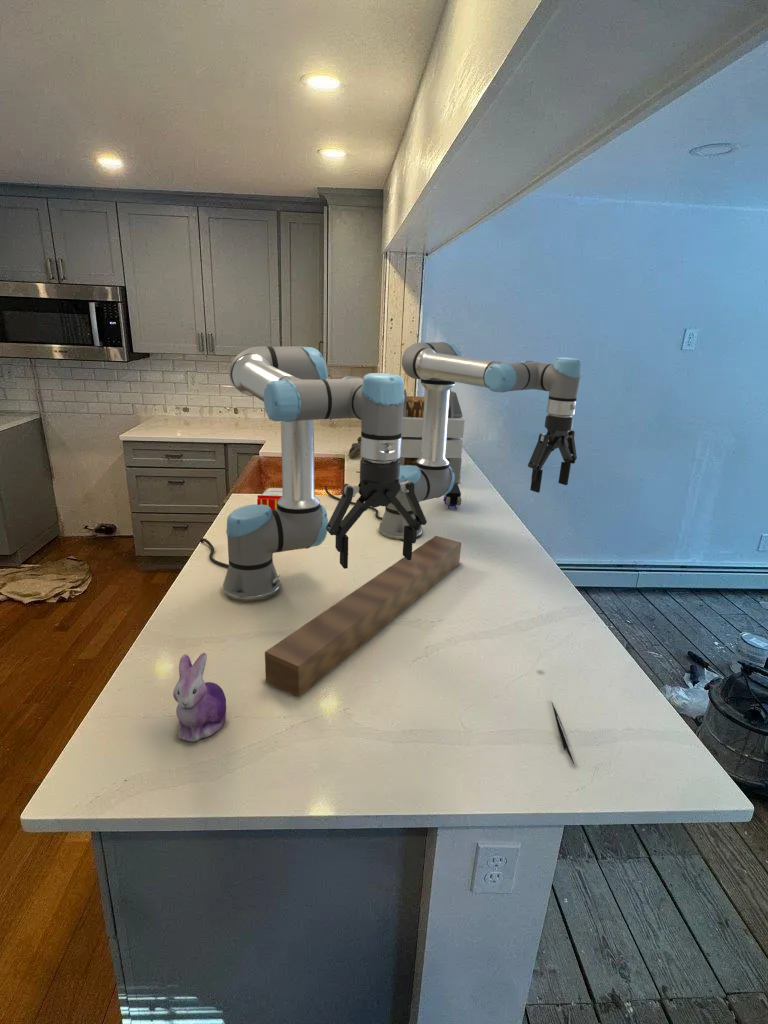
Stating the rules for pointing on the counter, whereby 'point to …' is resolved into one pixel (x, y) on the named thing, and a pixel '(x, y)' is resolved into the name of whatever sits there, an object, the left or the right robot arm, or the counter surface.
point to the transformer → (414, 428)
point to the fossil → (355, 449)
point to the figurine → (198, 701)
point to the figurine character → (453, 497)
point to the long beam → (357, 617)
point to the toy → (270, 497)
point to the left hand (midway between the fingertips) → (375, 561)
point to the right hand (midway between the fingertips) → (549, 487)
